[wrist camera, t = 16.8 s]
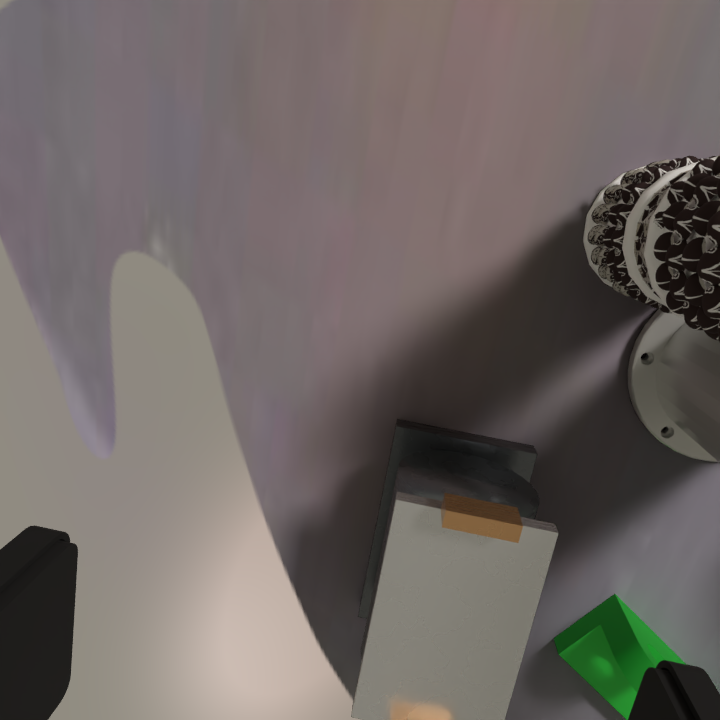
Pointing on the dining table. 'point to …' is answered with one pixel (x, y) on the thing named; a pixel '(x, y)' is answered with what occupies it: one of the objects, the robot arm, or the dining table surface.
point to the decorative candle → (662, 238)
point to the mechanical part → (613, 651)
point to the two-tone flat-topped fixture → (451, 577)
